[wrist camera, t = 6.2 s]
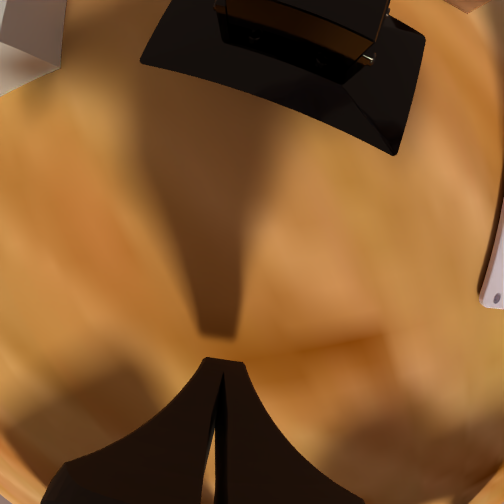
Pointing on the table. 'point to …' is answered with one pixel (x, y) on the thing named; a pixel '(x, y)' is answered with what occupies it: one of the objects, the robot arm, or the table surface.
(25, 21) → the light gray block
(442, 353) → the table surface
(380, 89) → the black boxy piece
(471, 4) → the bay
